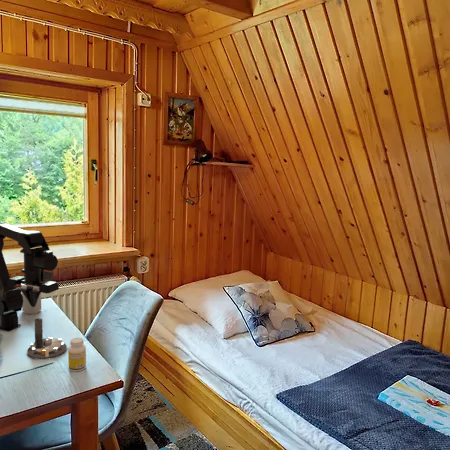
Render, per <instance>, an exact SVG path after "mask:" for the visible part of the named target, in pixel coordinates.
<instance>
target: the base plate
mask: <svg viewBox="0 0 450 450" xmlns="http://www.w3.org/2000/svg"><path fill="white" fill-rule="evenodd" d="M62 343H64V347H63V348H61V349H60V350H58V352H56V353H49V348H45V355H42V354H37V353H32V349H30V346H29V348H28V349H27V350H26V351H27V356H28V357H29V358H32V359H33V360H49V358H50V359H53V358H57V357H60V356H62V355H63V354H65V353H66V352H67V351H68V348H67V344H66V343H65V342H63V341H62Z"/></svg>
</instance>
